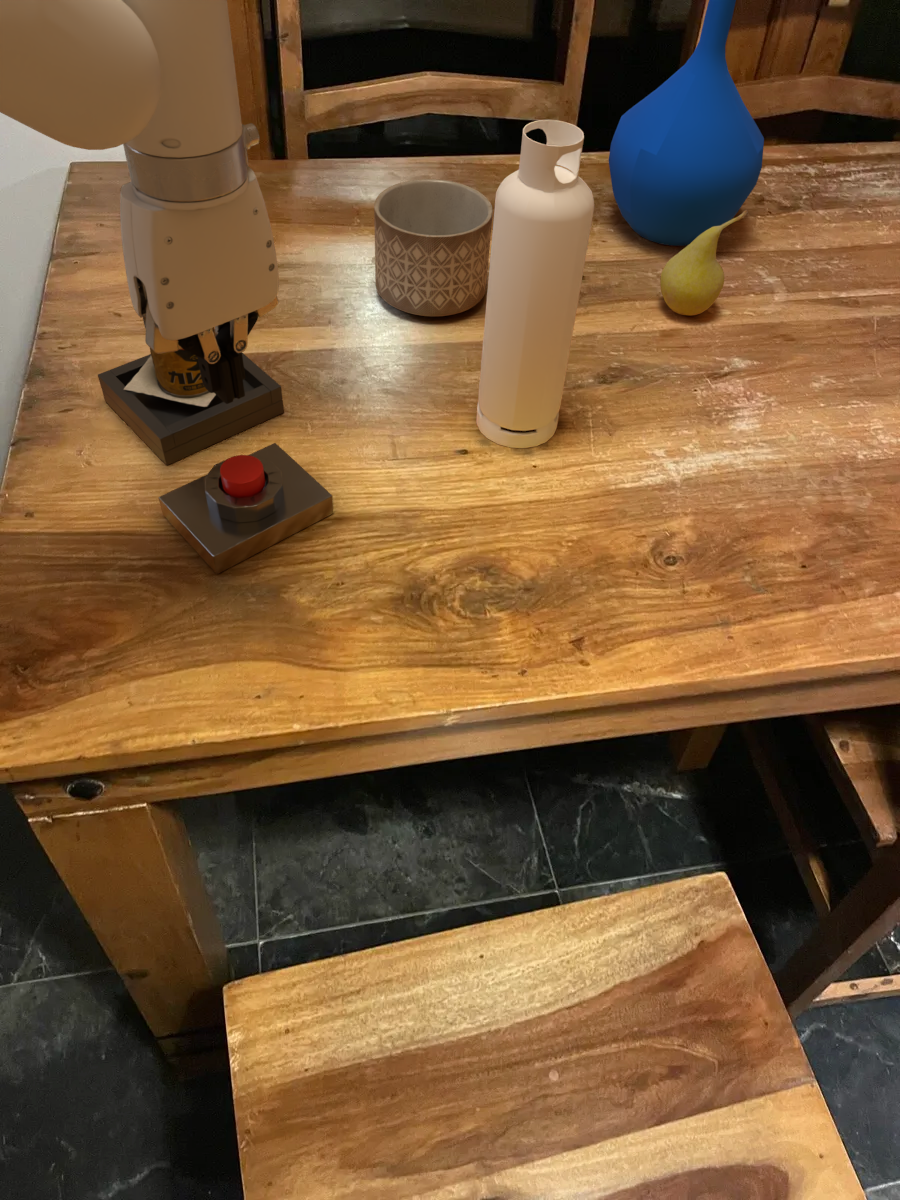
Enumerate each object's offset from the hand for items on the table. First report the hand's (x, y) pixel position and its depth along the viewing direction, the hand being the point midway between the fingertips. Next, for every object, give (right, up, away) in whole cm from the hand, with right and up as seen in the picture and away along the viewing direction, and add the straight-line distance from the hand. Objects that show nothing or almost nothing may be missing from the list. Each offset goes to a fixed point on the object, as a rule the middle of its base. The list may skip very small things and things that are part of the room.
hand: (225, 391), depth 75 cm
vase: (+46, +31, +46) cm, 72 cm away
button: (0, -7, +6) cm, 9 cm away
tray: (-7, +2, +18) cm, 19 cm away
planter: (+16, +18, +33) cm, 41 cm away
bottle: (+25, +1, +19) cm, 31 cm away
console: (0, -9, +8) cm, 12 cm away
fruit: (+45, +17, +34) cm, 59 cm away
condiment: (-8, +5, +15) cm, 18 cm away
